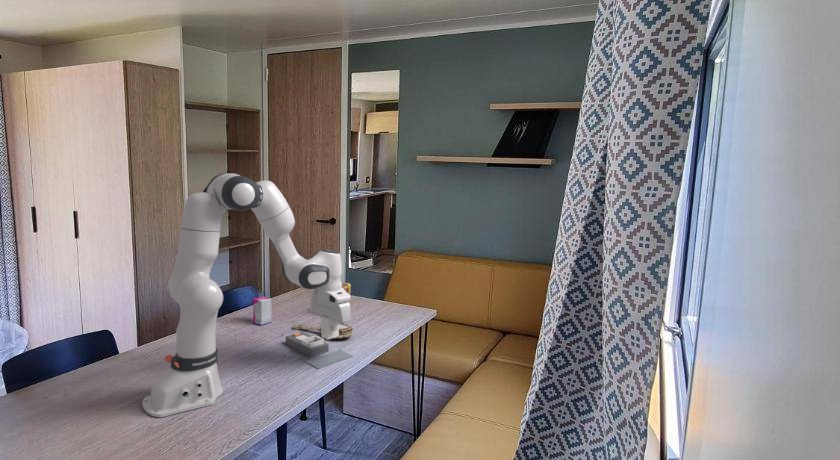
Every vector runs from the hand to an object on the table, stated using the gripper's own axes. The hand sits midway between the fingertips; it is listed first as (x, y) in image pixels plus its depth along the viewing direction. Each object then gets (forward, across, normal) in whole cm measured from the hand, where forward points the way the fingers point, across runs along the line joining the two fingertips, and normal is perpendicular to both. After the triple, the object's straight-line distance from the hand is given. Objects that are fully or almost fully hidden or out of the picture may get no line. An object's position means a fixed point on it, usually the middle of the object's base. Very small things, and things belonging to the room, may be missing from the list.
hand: (329, 328), depth 180 cm
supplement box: (+12, -52, +1) cm, 53 cm away
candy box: (+12, -38, +34) cm, 52 cm away
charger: (+3, 0, 0) cm, 3 cm away
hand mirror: (+13, -24, +13) cm, 30 cm away
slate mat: (+12, 0, 0) cm, 12 cm away
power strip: (+12, -15, 0) cm, 19 cm away
